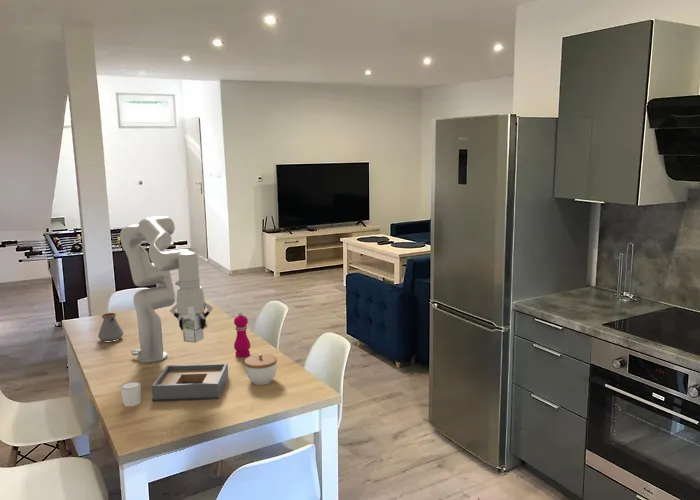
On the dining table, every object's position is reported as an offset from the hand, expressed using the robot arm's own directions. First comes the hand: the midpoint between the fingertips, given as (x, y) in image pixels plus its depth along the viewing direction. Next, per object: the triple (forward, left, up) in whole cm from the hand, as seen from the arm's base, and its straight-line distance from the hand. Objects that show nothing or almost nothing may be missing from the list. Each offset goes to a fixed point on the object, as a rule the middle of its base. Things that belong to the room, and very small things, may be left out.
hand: (192, 328), depth 212 cm
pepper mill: (+14, +29, -22) cm, 39 cm away
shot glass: (-19, -17, -22) cm, 34 cm away
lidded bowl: (+26, -1, -22) cm, 34 cm away
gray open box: (0, -6, -22) cm, 23 cm away
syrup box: (0, 0, -5) cm, 5 cm away
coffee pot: (-53, +52, -22) cm, 78 cm away
